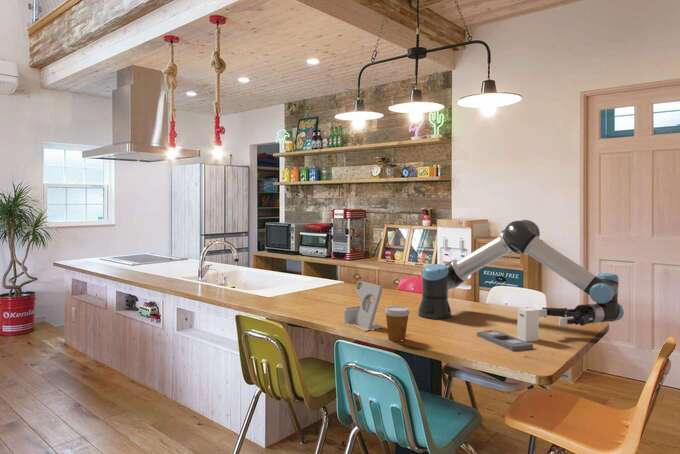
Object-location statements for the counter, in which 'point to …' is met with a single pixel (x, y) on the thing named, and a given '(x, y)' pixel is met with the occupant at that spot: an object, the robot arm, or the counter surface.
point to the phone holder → (364, 307)
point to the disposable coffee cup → (396, 322)
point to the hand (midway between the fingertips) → (545, 317)
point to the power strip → (504, 340)
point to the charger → (528, 324)
